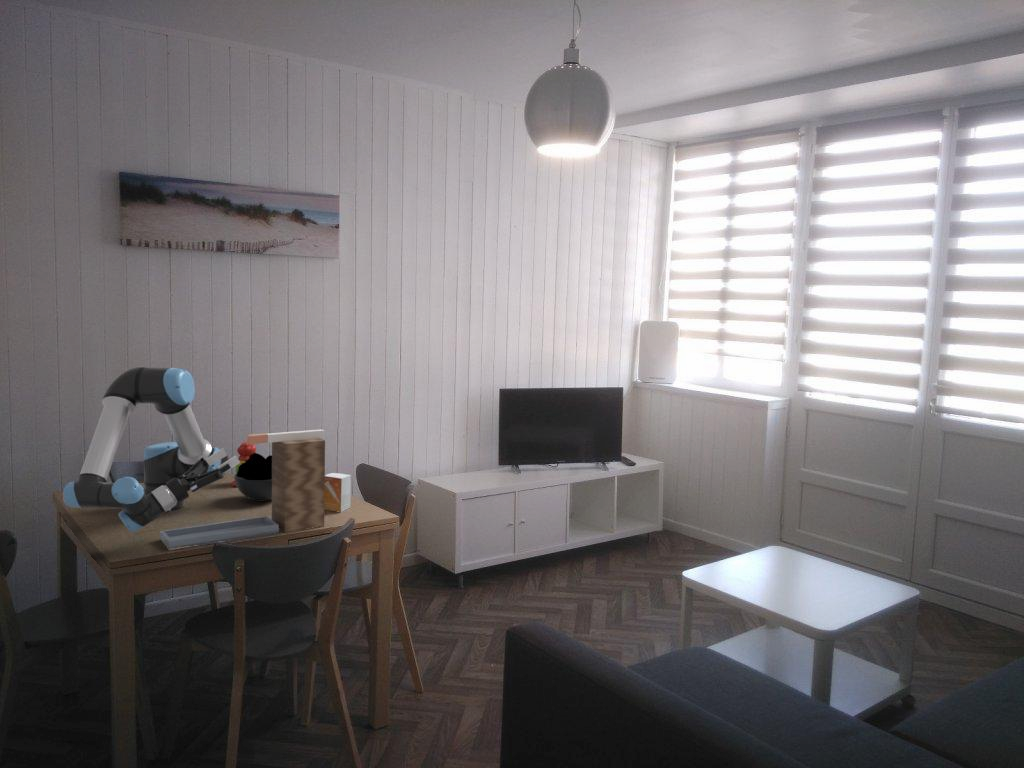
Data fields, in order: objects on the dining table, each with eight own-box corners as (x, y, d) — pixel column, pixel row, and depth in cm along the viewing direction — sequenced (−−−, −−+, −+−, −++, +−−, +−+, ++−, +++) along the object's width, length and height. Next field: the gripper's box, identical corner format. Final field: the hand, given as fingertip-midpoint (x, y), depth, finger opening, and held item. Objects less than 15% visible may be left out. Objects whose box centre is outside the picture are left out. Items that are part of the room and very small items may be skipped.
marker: (249, 444, 249) (249, 436, 249) (247, 442, 251) (247, 434, 251) (324, 437, 265) (325, 430, 265) (321, 436, 267) (321, 429, 267)
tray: (169, 550, 233) (169, 541, 233) (159, 540, 243) (159, 531, 242) (278, 533, 254) (278, 524, 253) (265, 524, 263) (265, 515, 263)
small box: (322, 509, 283) (322, 475, 282) (332, 505, 289) (332, 472, 288) (341, 512, 280) (341, 478, 279) (350, 508, 286) (351, 474, 285)
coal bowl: (230, 507, 282) (230, 457, 280) (238, 493, 301) (238, 446, 299) (286, 506, 286) (286, 457, 284) (291, 493, 305) (291, 446, 303)
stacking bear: (241, 480, 323) (241, 438, 321) (264, 482, 322) (264, 440, 320) (228, 486, 312) (228, 443, 310) (252, 488, 311) (252, 445, 309)
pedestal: (284, 532, 255) (285, 444, 252) (271, 523, 264) (272, 438, 261) (324, 526, 263) (325, 440, 260) (310, 517, 273) (311, 434, 270)
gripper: (168, 494, 249) (225, 457, 259) (188, 512, 229) (249, 471, 239) (155, 476, 246) (214, 439, 256) (174, 493, 226) (237, 452, 236)
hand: (231, 455), depth 248 cm, fingers open, 13 cm apart
